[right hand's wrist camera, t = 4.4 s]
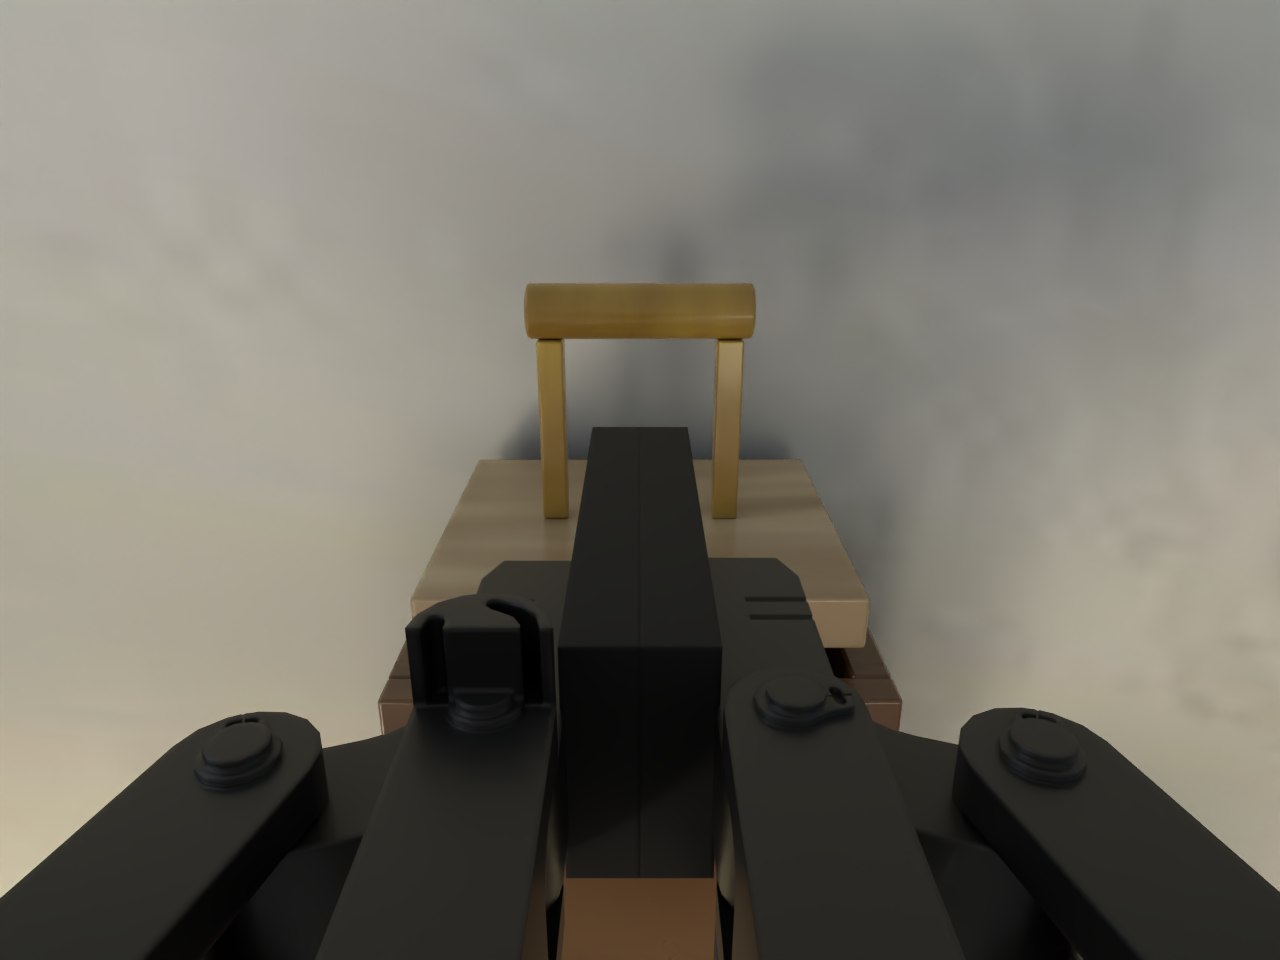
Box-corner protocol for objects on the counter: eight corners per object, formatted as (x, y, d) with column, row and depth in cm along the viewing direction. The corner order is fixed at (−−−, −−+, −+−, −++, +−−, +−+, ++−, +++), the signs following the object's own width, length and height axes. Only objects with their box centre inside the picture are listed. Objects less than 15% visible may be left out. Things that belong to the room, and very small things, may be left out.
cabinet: (467, 503, 28) (376, 700, 18) (812, 503, 28) (903, 700, 18) (503, 984, 35) (451, 1307, 25) (776, 984, 35) (828, 1307, 25)
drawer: (464, 259, 24) (380, 320, 16) (815, 259, 24) (900, 320, 16) (511, 947, 33) (472, 1201, 25) (768, 947, 33) (808, 1202, 25)
